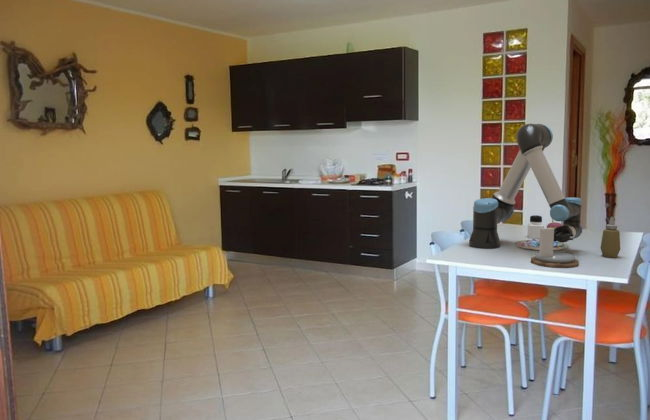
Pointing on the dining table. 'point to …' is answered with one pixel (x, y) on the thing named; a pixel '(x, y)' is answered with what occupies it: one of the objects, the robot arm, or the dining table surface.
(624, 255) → the dining table surface
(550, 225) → the cupcake
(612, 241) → the squeeze bottle
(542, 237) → the dial
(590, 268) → the dining table surface
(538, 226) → the medicine bottle
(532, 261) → the base
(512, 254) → the dining table surface
